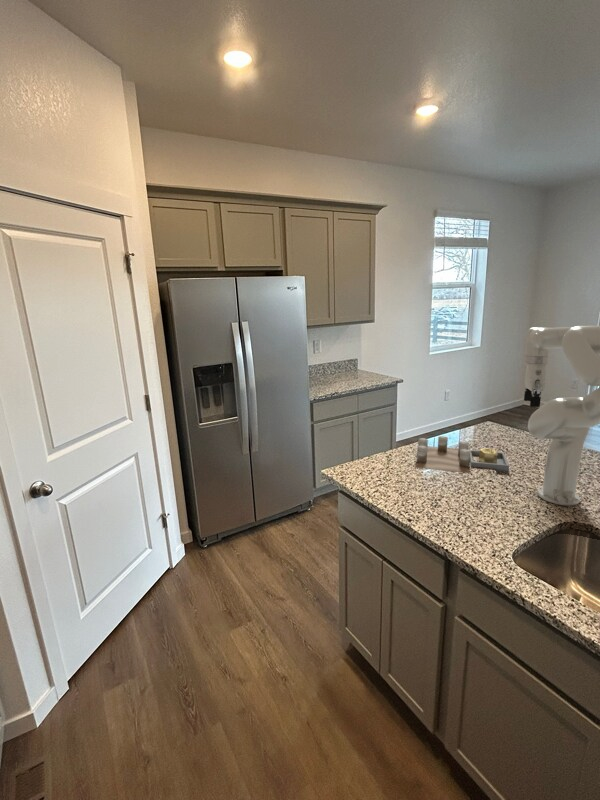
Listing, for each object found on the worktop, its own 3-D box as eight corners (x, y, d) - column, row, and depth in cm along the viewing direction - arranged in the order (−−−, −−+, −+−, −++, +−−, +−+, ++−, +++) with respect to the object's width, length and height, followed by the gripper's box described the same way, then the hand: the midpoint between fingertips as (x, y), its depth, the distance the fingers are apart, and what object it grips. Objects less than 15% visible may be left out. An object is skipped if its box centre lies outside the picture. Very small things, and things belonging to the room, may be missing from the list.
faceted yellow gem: (495, 459, 166) (496, 448, 165) (497, 465, 160) (498, 454, 159) (478, 458, 168) (478, 447, 167) (479, 463, 163) (480, 452, 161)
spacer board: (470, 475, 154) (472, 459, 153) (415, 470, 161) (416, 454, 159) (466, 451, 178) (467, 437, 176) (418, 447, 185) (419, 433, 183)
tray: (508, 472, 156) (509, 465, 155) (470, 468, 161) (471, 462, 160) (503, 459, 169) (503, 452, 168) (468, 456, 173) (468, 449, 173)
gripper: (554, 363, 138) (548, 409, 142) (541, 357, 154) (536, 399, 158) (530, 363, 141) (525, 408, 145) (519, 357, 157) (516, 398, 161)
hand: (531, 403), depth 151 cm, fingers open, 9 cm apart
